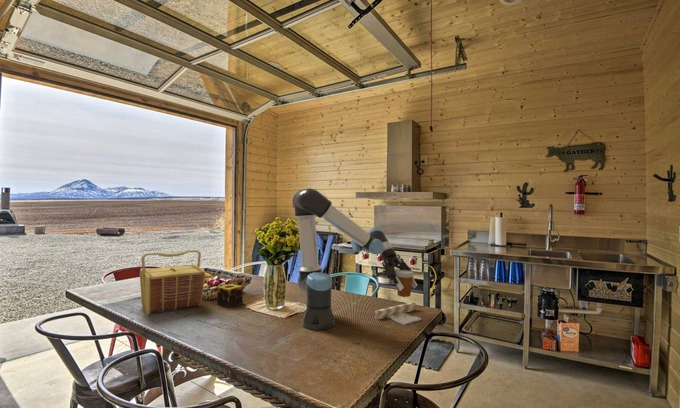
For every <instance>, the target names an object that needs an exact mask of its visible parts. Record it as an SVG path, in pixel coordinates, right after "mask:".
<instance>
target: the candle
mask: <svg viewBox="0 0 680 408" xmlns="http://www.w3.org/2000/svg"><path fill="white" fill-rule="evenodd" d="M243 289H244V287H243V285H239V284H234V283H229V284H225V285H221V286H220V285H219V286H217V288H216V291H217V293H216V297H217V299H216V305H219V306H221V307H225V308H231V307H235V306H237V305H242V304H243V303H244V301H243V300H244V297H243Z"/></svg>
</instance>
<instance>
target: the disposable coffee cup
mask: <svg viewBox="0 0 680 408" xmlns="http://www.w3.org/2000/svg"><path fill="white" fill-rule="evenodd" d="M412 271H413V270H412ZM412 271H409V270H400V269H396V270H395V277H398V279H399V280H400V282H401V284H402V285H403V287H404V288H403V289H402V290H401V291H400V290H399V289H398V287H397V286H396V290H397V291H396V293H397V296H398V297H401V298H407V297H411V294H412V288H413V287H412V280H413V278H414V275H415V274H414V271H413V272H412Z"/></svg>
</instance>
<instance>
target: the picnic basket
mask: <svg viewBox="0 0 680 408" xmlns="http://www.w3.org/2000/svg"><path fill="white" fill-rule="evenodd" d="M188 253H197V255H198V256H197V265H196V264H193V263H192V264H188V265H187V264H186V265H176V266H166V267H164V266H163V267H155V268H153V267H152V268H146V264H145V263H146V261H145V258H146V257H147V256H161V257H166V258H171V257H172V258H173V257H179V256H183V255H185V254H188ZM201 256H202V253H201V251H199V250H197V249H195V250H194V249H192V250H186V251H181V252H177V253H165V252H164V253H163V252H150V253H145V254H144V255H142V257H141V268H140V269H139V284H140V295H141V296H140V298H141V299H140V300H141V305H142V308H143V310H144V312H145V313H146V315H151V314H156V313H162V312H168V311H173V310H178V309H179V310H180V309H186V308H190V307H191V308H192V307H200V306H202V301H203V293H204V286H205V279H206V270H205V269H204V268H201V266H200V265H201Z"/></svg>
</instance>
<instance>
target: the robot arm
mask: <svg viewBox="0 0 680 408" xmlns="http://www.w3.org/2000/svg"><path fill="white" fill-rule="evenodd" d="M291 203H292V206H293V207H292V208H294V217H295V218H296V219H297V221H298V230H299V231H298V233H299V243H300V244H299V247H300V260H301V262H300V263H301V266H300V267H299V269H298V273H299V275H298V278H297V285H298V287H299V289H300V290H301V292H303V293H304V294H305V296H306V308H305V312H304V315H303V317H302V327H303V328H305V329H308V330H313V331H324V330H329V329H331V328H333V327H334V326H335V317H334V312H333V311H332V310H333V309H332V287H333V286H332V285H333V282H332V281H333V280H332V277H331V275H330V274H328V273H325V272H323V270H322V269H323V268H322V266H321V265H320V264H319V253H318V240H317V239H318V238H317V237H318V236H317V228H316V227H317V225H316V218H319V219H324V220H325V221H326V222H328V223H329V224H330V225H332V226H333V227H335V228H336V229H337V230H339V231H340V232H341V233H343V234H344V235H345V236H346V237H348V238H350V239H351V242H350V244H351V245H350V246H351V248H352V250H353V251H354V252H355V253H360V252H366V253H368V254H369V253H370V254H371V255H379V254H380V255H381V258H382V260H383V261H382V262H381V265H382V266H383V268H384V271H385V274H386V276H387V279H389V280H390V281H392V282H394V285H396V288H397V287H398V289H399V290H400V291H401V290H402V289H403V288H404V287H403V285H402V284H401V282H400V280H399V279H398V277H396V275H395V272H396V270H395V268H396V269H397V270H409V271H412V272H413V273H414V271H413V270H412V268H410V267H409V266H408V264H407V262H405V261H404V259H403V258H402V257H401V258H398V257H397V252H396V251H395V250H394V248H393V246H392V244H391V243H390V241H389V240H388V239H387V237H386V236H385V233H384V232H383V231H382V229H381V227H379V226H374V227H372V228H371V229H369V230H368V231H367V230H365V229H364V228H362V227H361V226H360V225H358V224H357V223H356V222H355V221H353V220H352V219H350V218H349V217H348V216H347V215H345V214H344V213H343V212H341V211H340V210H339V209H338V208H336V207H335V206H334V205H333V203H332V201H331V200H329V199H328V198H327V197H326V196H325V195H324V194H322V193H321V192H320V191H318V190H317V189H315V188H310V187H309V188H303V189H300V190H297V192H295V193H294V195H293V196H292V199H291ZM417 286H418V284H417V282H416V280H415V278H414V277H413V280H412V287H411V288H413V289H416V287H417Z"/></svg>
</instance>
